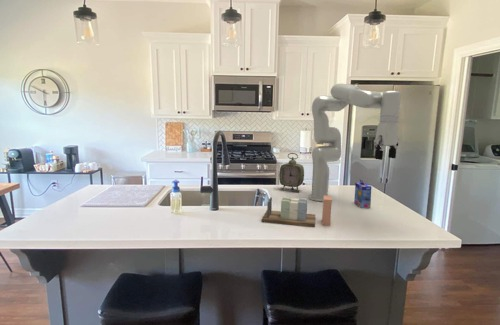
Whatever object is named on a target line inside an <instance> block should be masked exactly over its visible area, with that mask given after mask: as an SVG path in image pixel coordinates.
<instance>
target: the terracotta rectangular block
mask: <svg viewBox="0 0 500 325" xmlns="http://www.w3.org/2000/svg"><path fill="white" fill-rule="evenodd" d="M332 198H333V197H332V195H328V196H325V195H324V196H323V201H322V215H321V216H322V217H321V223H322V226H329V227H330V226H331V219H332V218H331V217H332V204H333V203H332V202H333V199H332Z"/></svg>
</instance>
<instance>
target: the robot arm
mask: <svg viewBox="0 0 500 325" xmlns="http://www.w3.org/2000/svg"><path fill="white" fill-rule="evenodd" d="M401 99H402V94H401V91H398V90H386V91H374V90H362V89H361V88H360V87H359V86H357V85H355V84H351V83H350V84H349V83H336V84H334V85H332V87H331V88H330V95H319V96H317V97H315V98H314V99H313V101H312V104H311V113H312V118H313V138H314V141H315V143H317V144H323V145H318V146H315V147H313V149H312V151H311V157H312V177H311V178H312V180H311V194H309V195H308V199H309V200H311V201H315V202H323V196H324V195H325V196H329V187H330V186H329V182H330V167H329V165H328V163H331V162H333V163H334V162H337V161H339V160H340V158H341V156H342V136H341V132H340V130H339V128H337V127H333V126H331V127H330V122H329V117H328V115H327V114H326V112H341V111H342V110H343V109H345V108H346V107H348V106H349V105H352V106H354V107H359V108H363V109H375V110H376V109H378V110H379V109H380V110H379V111H380V112H379V123H378V125H377V129H376V134H375V139H374V140H373V144H374V150H375V154H374V155H375V156H374V158H375V160H381V161H382V160H383V156H384V147H388V148H389V149H388V158H390V159H396V157H397V156H396V155H397V149H398V146H399V144H400V141H401V140H400V138H398V137H399V118H400V111H401V110H400V109H401ZM324 144H328V145H324Z"/></svg>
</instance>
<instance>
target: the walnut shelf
mask: <svg viewBox="0 0 500 325" xmlns="http://www.w3.org/2000/svg"><path fill="white" fill-rule="evenodd" d="M272 203H273V198H272V196H271V197H269V199H268V201H267V204H266V205H267V209H266V211H265V213H264V214H263V216H262V218H261V223H269V224H278V225H280V224H281V225H287V226H288V225H289V226H297V227H299V226H300V227H306V228H307V227H309V228H316V214H311V213H308V198H303V197H299V198H292V197H291V196H289V197H288V196H282V198H281V202H280V210H279V211H278V210H272V209H273V208H272V207H273V206H272Z"/></svg>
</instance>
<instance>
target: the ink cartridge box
mask: <svg viewBox="0 0 500 325" xmlns="http://www.w3.org/2000/svg"><path fill="white" fill-rule="evenodd" d="M354 184H355V185H354V201H353V202H354V204H355V205H356V206H358V207H359V208H360V209H370V208H371V205H372V204H371V202H372V201H371V200H372V185H370V184H367V183H366V182H364V181H363V180H362V179H359V181H358V182H356V181H355V183H354Z"/></svg>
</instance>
